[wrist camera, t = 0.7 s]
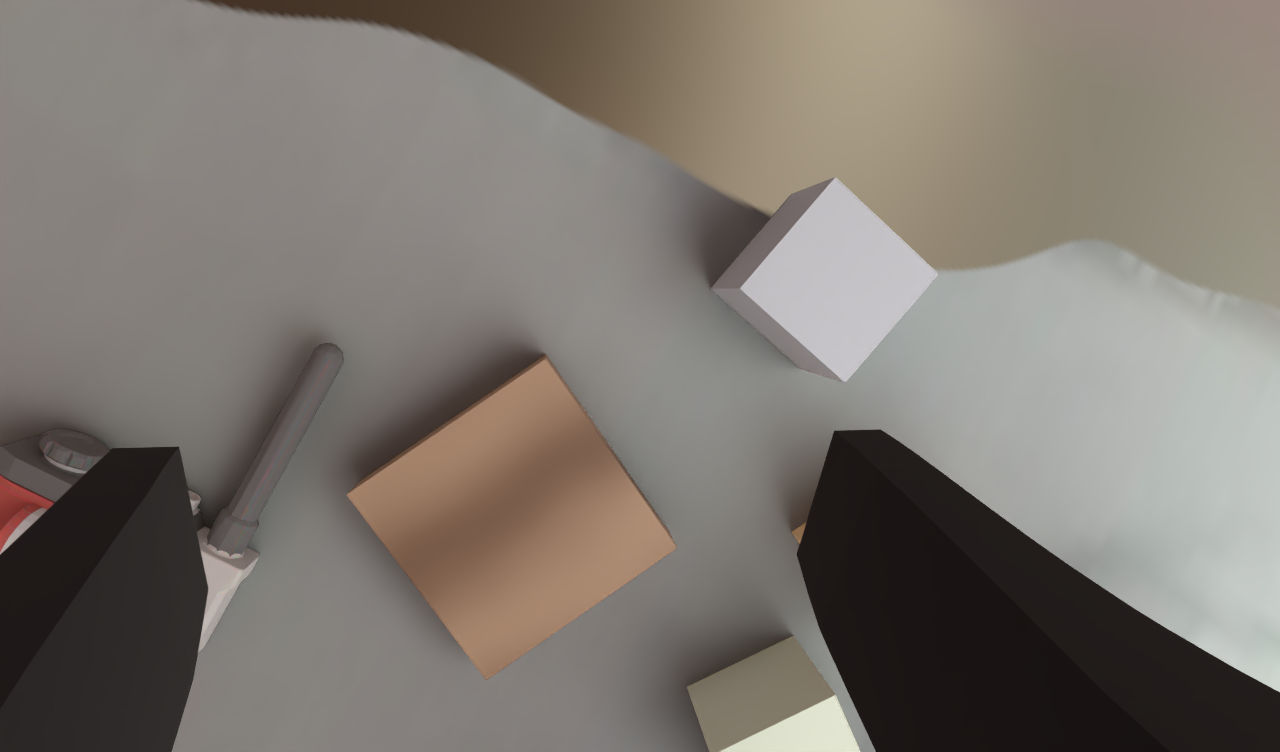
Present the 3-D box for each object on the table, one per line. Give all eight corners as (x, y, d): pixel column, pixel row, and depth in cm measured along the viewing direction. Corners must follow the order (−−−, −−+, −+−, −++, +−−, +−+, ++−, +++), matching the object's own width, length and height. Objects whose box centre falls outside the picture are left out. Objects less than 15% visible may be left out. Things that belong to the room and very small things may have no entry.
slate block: (879, 276, 32) (938, 274, 27) (799, 368, 32) (845, 382, 28) (790, 194, 32) (835, 177, 27) (709, 289, 32) (740, 288, 27)
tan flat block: (667, 528, 33) (677, 548, 30) (491, 650, 33) (486, 680, 30) (546, 353, 32) (545, 358, 29) (362, 478, 32) (346, 494, 29)
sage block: (837, 734, 34) (886, 810, 29) (732, 786, 34) (764, 871, 29) (792, 634, 33) (835, 695, 29) (686, 686, 33) (710, 755, 28)
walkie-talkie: (107, 837, 32) (372, 357, 31) (36, 924, 27) (343, 368, 27) (-132, 734, 31) (138, 232, 30) (-246, 808, 26) (68, 222, 26)
